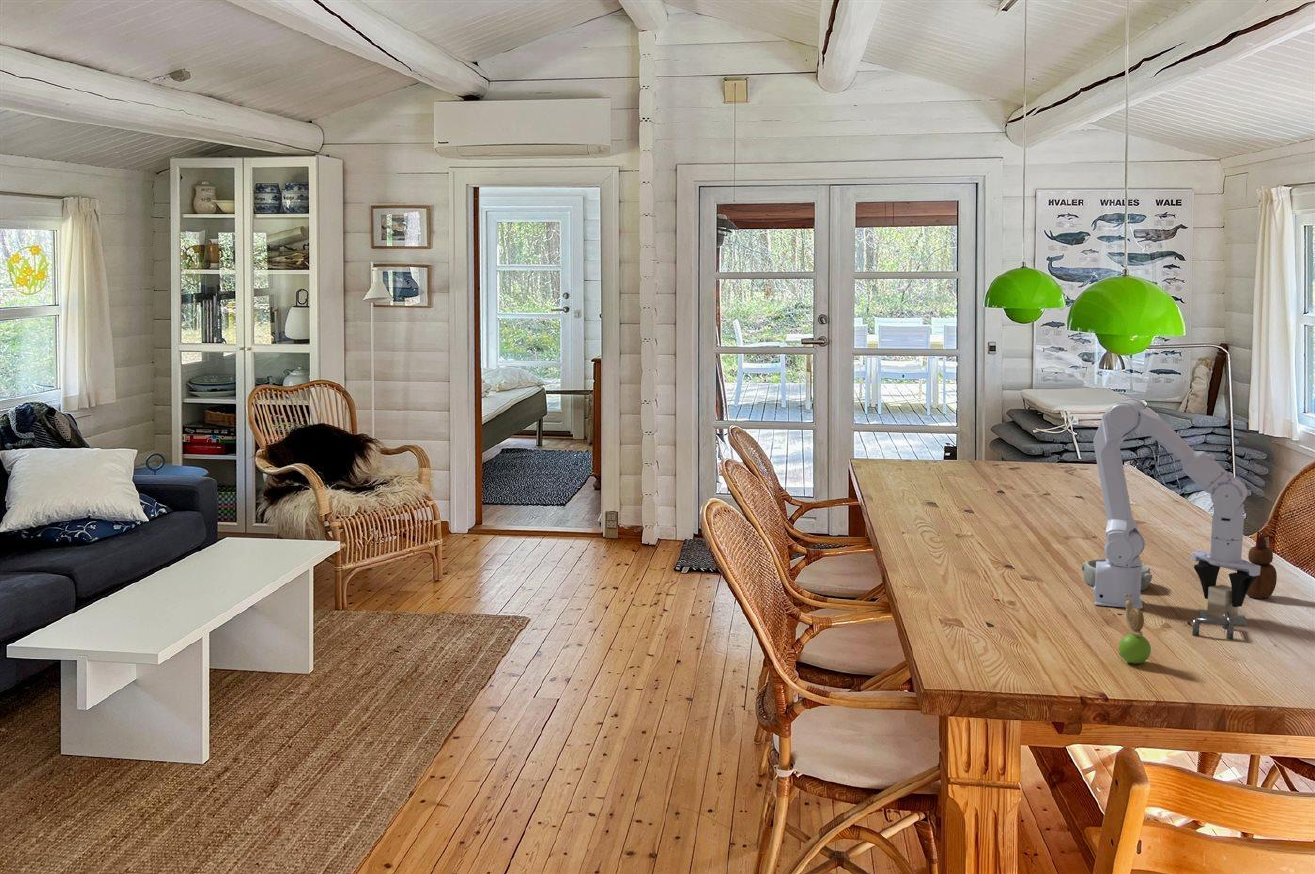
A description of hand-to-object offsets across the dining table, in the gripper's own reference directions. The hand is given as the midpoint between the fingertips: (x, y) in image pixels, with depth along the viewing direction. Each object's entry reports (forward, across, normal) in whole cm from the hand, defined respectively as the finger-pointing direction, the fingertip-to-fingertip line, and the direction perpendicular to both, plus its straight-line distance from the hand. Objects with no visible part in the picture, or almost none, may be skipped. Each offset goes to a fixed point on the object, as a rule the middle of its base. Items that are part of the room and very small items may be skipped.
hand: (1223, 602), depth 228 cm
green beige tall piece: (+4, +12, -38) cm, 40 cm away
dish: (+4, -29, +1) cm, 29 cm away
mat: (+3, 0, 0) cm, 3 cm away
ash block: (+3, 0, 0) cm, 3 cm away
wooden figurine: (+4, -8, +20) cm, 22 cm away
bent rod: (+3, +5, -10) cm, 11 cm away
